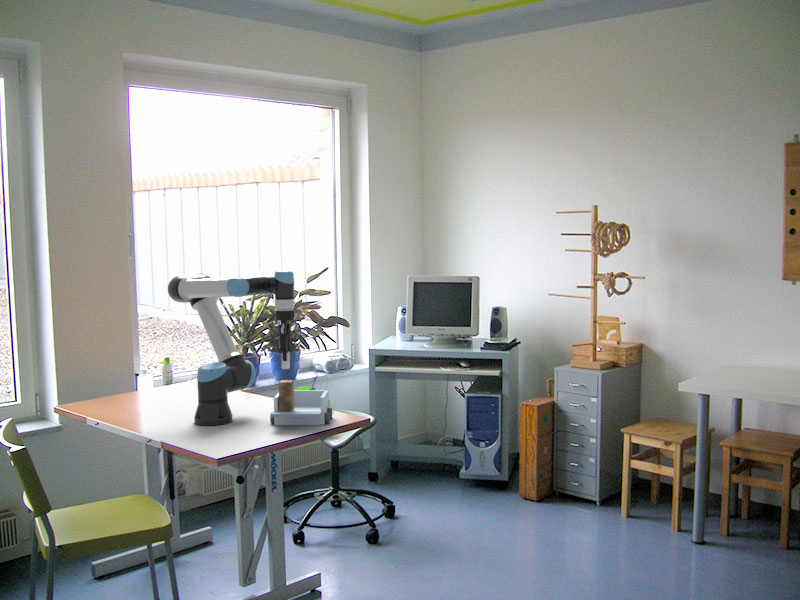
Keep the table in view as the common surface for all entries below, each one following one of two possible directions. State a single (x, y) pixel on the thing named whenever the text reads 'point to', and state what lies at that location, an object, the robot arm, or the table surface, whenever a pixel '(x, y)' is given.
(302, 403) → the truck bed
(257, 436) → the table surface
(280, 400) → the brown wooden block
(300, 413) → the tailgate
